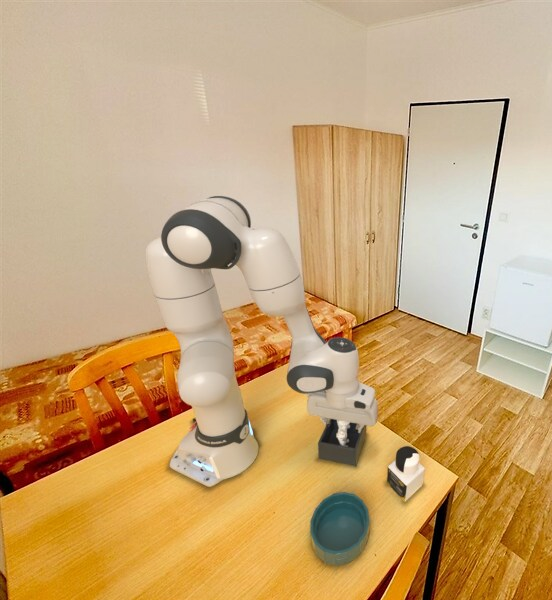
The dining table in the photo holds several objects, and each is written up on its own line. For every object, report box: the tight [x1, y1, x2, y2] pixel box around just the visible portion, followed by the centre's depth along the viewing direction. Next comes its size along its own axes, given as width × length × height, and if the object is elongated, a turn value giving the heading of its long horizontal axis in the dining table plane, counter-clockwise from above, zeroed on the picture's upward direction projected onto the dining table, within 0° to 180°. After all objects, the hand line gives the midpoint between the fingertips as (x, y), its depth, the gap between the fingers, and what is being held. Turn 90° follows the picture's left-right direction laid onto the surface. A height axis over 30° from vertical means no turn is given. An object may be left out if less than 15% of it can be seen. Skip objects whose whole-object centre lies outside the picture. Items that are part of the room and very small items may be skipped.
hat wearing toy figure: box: [336, 420, 350, 447], centre depth 93 cm, size 9×4×12 cm, turn 179°
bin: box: [317, 419, 367, 467], centre depth 94 cm, size 11×11×7 cm
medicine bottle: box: [386, 445, 426, 503], centre depth 84 cm, size 7×7×12 cm
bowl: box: [309, 491, 371, 567], centre depth 73 cm, size 13×13×5 cm
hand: (342, 428), depth 93 cm, fingers open, 8 cm apart
